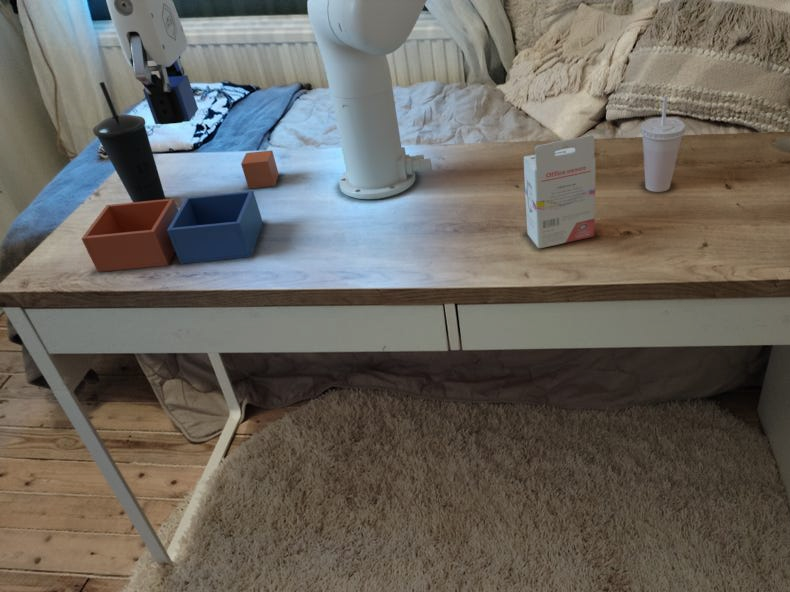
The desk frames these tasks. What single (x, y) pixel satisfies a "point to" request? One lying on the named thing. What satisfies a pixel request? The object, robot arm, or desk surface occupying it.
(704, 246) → the desk surface
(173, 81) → the blue block
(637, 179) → the desk surface
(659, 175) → the smoothie
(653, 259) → the desk surface
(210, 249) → the blue bin
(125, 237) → the terracotta bin
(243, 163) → the terracotta block
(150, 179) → the drinking cup
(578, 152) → the ink cartridge box
